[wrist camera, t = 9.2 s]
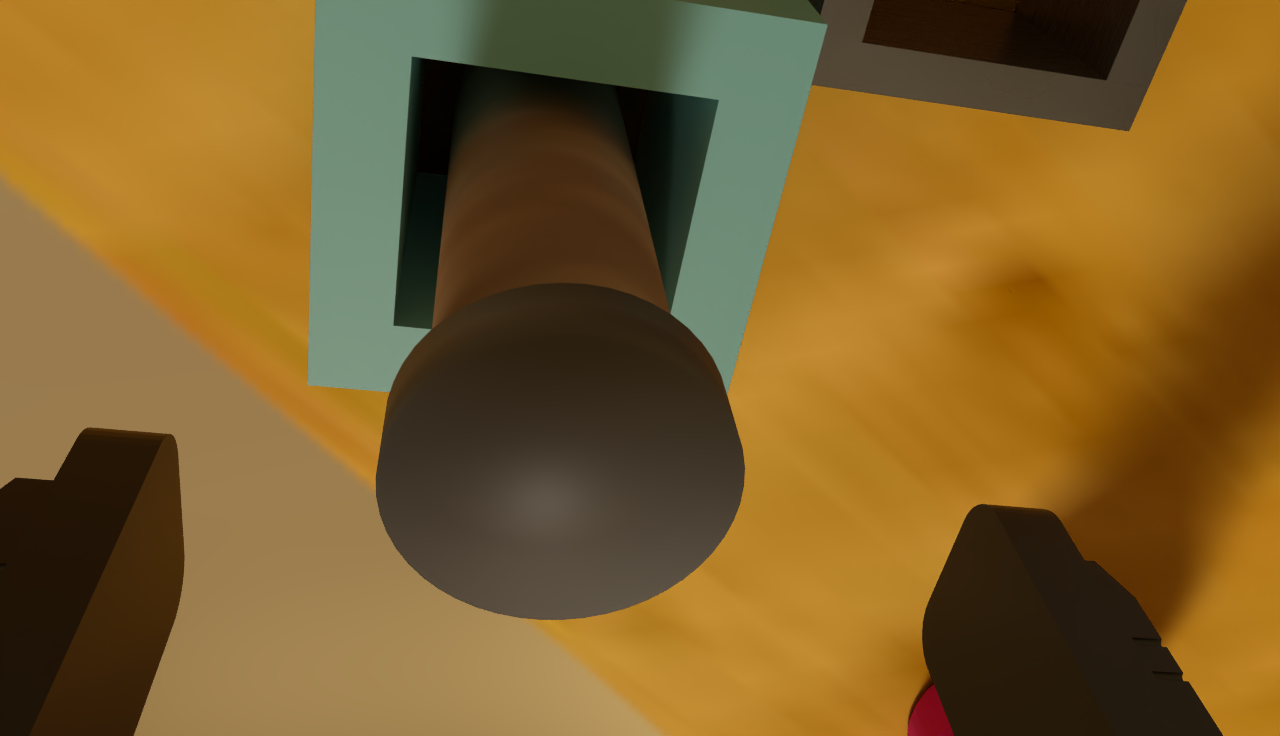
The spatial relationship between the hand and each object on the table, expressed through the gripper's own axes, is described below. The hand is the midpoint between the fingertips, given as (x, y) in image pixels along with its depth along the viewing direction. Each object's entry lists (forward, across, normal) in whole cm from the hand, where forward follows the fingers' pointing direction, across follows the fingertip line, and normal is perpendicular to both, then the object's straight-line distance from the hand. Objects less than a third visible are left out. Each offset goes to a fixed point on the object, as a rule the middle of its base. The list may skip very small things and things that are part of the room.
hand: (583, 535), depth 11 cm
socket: (+13, 0, 0) cm, 13 cm away
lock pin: (+13, 0, 0) cm, 13 cm away
